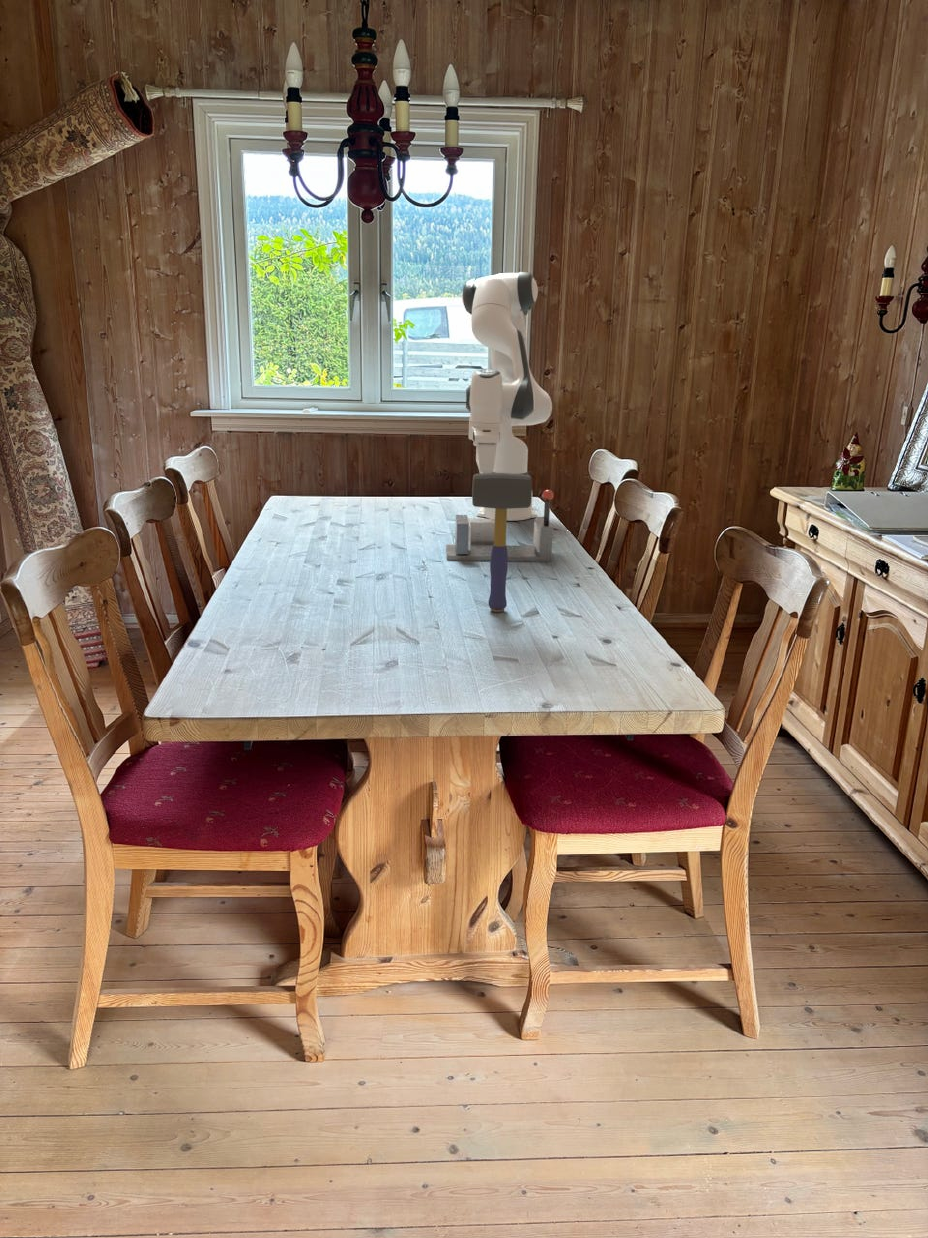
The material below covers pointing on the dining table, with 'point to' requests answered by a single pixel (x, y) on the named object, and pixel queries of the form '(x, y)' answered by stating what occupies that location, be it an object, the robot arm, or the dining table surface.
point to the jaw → (462, 534)
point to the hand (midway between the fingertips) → (483, 484)
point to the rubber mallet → (500, 521)
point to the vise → (517, 553)
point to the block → (482, 531)
